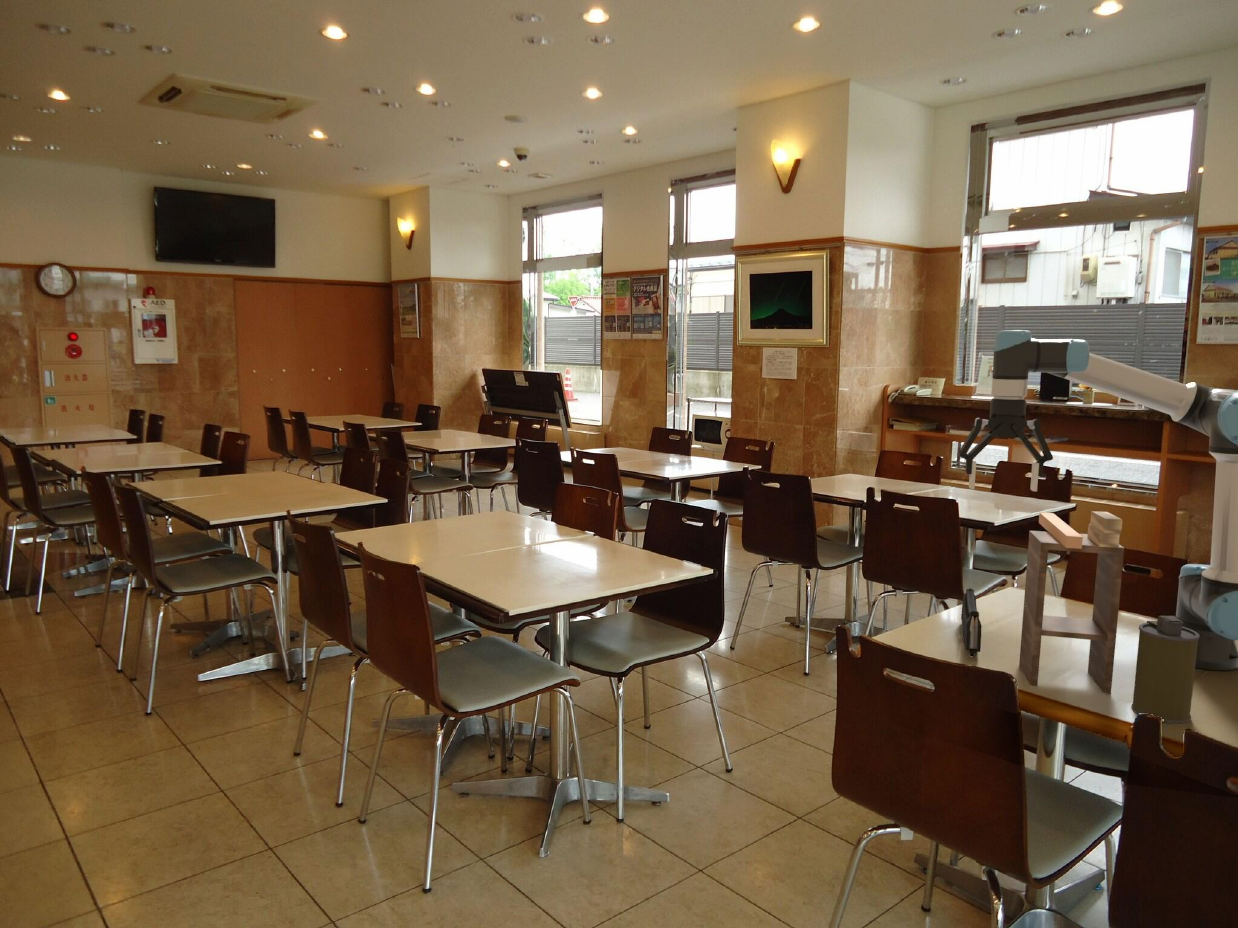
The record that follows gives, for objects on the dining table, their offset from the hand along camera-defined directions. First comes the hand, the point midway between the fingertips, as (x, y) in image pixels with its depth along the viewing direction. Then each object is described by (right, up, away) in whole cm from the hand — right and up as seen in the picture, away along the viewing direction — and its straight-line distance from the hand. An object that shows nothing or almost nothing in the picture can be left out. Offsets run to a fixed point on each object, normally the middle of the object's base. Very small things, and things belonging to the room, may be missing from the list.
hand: (1002, 489), depth 206 cm
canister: (+21, -45, -26) cm, 56 cm away
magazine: (-1, -39, +17) cm, 43 cm away
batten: (+9, -10, -8) cm, 16 cm away
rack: (+10, -42, -8) cm, 44 cm away
